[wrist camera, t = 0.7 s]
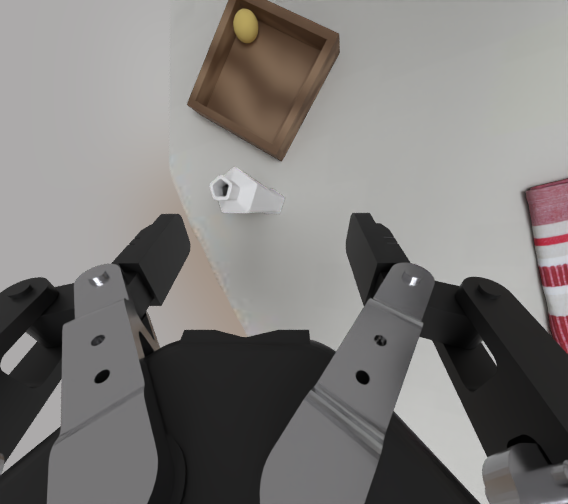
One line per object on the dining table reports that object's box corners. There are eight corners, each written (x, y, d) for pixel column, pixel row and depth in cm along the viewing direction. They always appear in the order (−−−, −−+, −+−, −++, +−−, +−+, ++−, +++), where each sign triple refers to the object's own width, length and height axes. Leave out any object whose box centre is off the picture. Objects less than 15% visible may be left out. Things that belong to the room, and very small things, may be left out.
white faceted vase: (287, 185, 33) (245, 158, 19) (286, 215, 34) (245, 212, 20) (257, 185, 34) (196, 160, 20) (257, 215, 35) (197, 211, 21)
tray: (244, 7, 32) (234, -15, 29) (339, 52, 30) (339, 33, 27) (200, 114, 35) (186, 104, 32) (281, 161, 33) (275, 155, 30)
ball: (246, 18, 31) (236, -4, 28) (265, 28, 31) (257, 6, 28) (236, 43, 32) (224, 24, 29) (254, 53, 31) (245, 35, 28)
